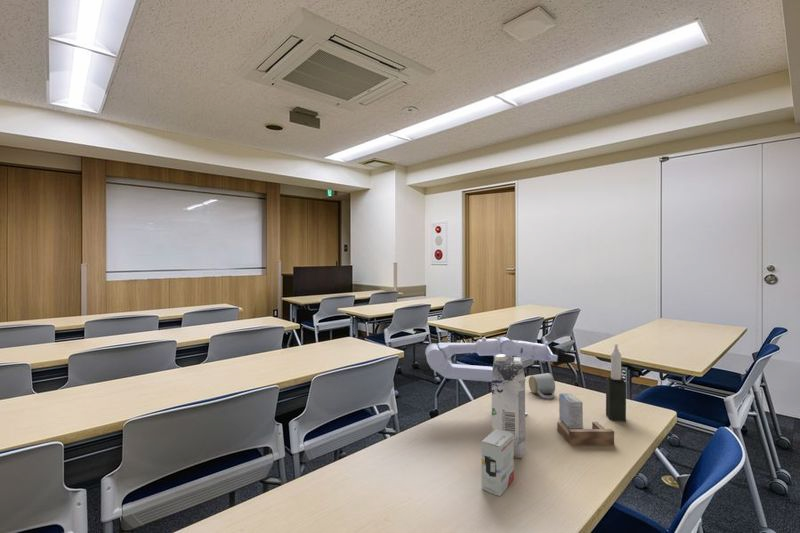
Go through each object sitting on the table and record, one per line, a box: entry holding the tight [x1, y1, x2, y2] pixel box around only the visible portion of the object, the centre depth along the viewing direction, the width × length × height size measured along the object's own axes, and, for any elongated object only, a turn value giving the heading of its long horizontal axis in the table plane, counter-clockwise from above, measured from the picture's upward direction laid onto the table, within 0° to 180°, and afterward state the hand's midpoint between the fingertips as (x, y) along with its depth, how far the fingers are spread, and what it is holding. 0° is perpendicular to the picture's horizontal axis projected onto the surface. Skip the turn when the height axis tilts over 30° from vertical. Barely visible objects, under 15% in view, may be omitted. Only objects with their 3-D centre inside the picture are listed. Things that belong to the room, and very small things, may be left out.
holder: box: [556, 421, 615, 446], centre depth 113 cm, size 12×10×4 cm
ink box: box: [481, 429, 515, 497], centre depth 90 cm, size 9×5×12 cm, turn 141°
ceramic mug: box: [528, 372, 556, 400], centre depth 147 cm, size 11×8×8 cm
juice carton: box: [491, 354, 526, 459], centre depth 106 cm, size 9×10×27 cm
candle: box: [605, 343, 627, 422], centre depth 125 cm, size 5×5×25 cm
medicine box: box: [558, 392, 584, 429], centre depth 122 cm, size 8×4×9 cm, turn 179°
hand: (569, 356), depth 131 cm, fingers open, 7 cm apart
